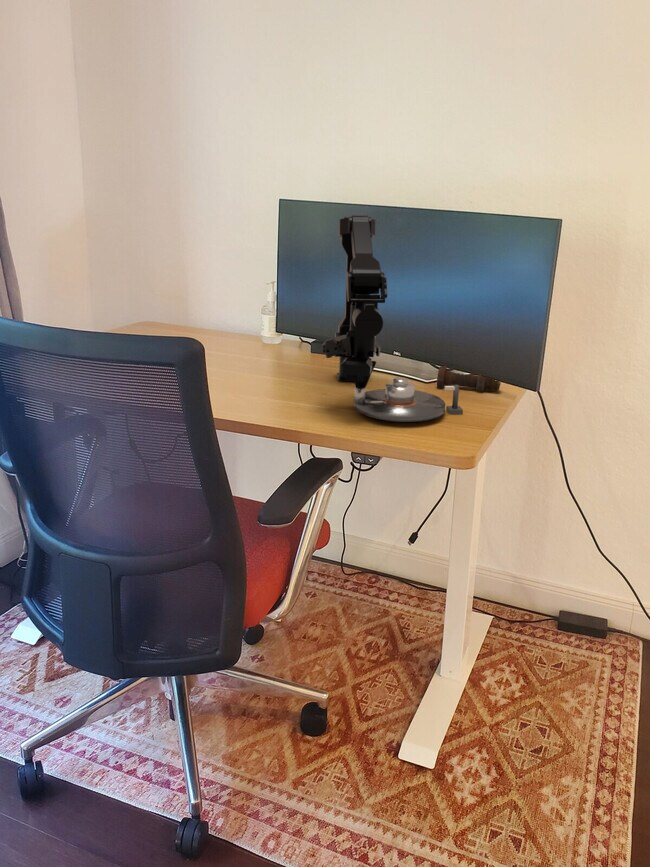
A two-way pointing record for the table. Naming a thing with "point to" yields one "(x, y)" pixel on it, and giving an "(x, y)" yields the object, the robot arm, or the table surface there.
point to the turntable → (376, 406)
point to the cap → (399, 392)
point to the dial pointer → (454, 400)
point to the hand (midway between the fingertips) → (359, 394)
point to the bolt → (465, 380)
